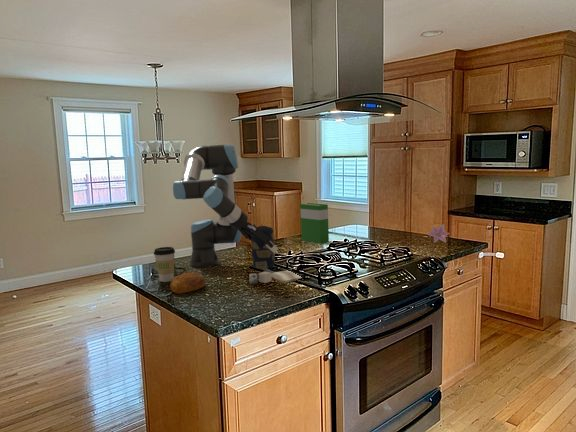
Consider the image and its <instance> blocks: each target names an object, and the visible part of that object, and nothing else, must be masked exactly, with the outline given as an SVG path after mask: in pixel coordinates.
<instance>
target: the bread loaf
mask: <svg viewBox="0 0 576 432" xmlns="http://www.w3.org/2000/svg"><path fill="white" fill-rule="evenodd" d="M205 285H206V280H205V278H204V276H203V275H200V274H199V273H197V272H184V273H181V274H179V275H177V276H174V277H173V279H172V281H170V284H169V289H170V291H171V292H173V293H174V294H175V293H176V294H186V293H190V292H193V291H196V290H200V289H202V288H204V287H205Z"/></svg>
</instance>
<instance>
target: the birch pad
mask: <svg viewBox="0 0 576 432" xmlns="http://www.w3.org/2000/svg"><path fill="white" fill-rule="evenodd" d="M288 270H289V269H288ZM288 270H282V271H276V272H275V271H274V272H271V280H274V281H276V282H278V283H281V284H286V283H293V282H296V280H297V281H299V280H298V279H301V278H302V277H301V276H299V275H297V274H295V273H293V272H291V271H288Z"/></svg>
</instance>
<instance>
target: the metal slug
mask: <svg viewBox="0 0 576 432" xmlns="http://www.w3.org/2000/svg"><path fill="white" fill-rule="evenodd" d="M248 276H249V277H248V278H249V279H248V280H249V285H257V284H259V283H258V282H259V278H258V273H249V274H248Z"/></svg>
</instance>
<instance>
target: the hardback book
mask: <svg viewBox="0 0 576 432" xmlns="http://www.w3.org/2000/svg"><path fill="white" fill-rule="evenodd" d="M328 207H329V204H326V203H313V202H312V203H311V202H307V204H306V203H300V207H299V210H300V229H301V230H300V232H301V237H300V238H301V241H302V242H309V243H313V244H314V243H315V244H320V245H321V244H325V243H329V241H330V237H329V236H330V235H329V208H328Z"/></svg>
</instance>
